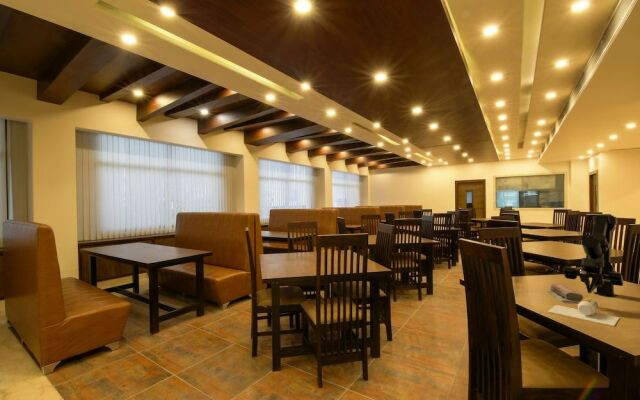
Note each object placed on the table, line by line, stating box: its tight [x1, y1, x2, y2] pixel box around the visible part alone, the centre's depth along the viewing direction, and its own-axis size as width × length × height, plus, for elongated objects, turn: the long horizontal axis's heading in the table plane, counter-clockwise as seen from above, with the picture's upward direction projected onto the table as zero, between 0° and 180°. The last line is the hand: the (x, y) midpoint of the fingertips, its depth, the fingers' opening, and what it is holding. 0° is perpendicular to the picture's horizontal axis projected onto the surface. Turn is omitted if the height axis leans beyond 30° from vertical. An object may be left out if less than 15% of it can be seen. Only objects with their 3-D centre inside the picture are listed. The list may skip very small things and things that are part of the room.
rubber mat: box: [547, 304, 620, 327], centre depth 122 cm, size 12×20×1 cm, turn 39°
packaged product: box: [546, 283, 584, 304], centre depth 144 cm, size 18×5×10 cm
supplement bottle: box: [577, 297, 599, 315], centre depth 122 cm, size 5×5×10 cm
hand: (589, 292), depth 126 cm, fingers closed
